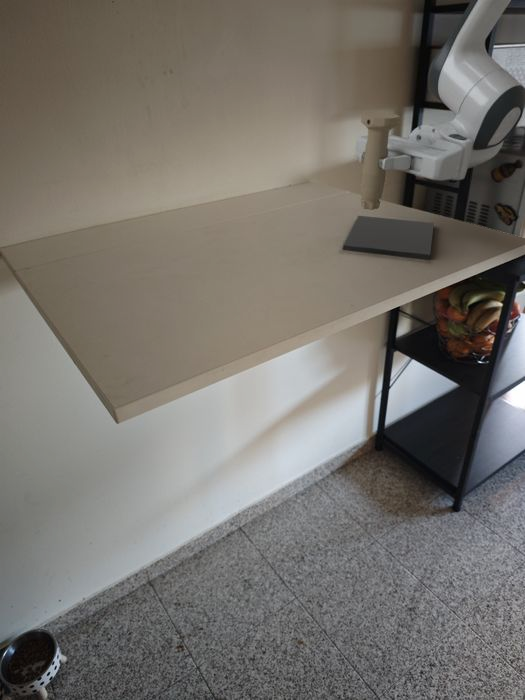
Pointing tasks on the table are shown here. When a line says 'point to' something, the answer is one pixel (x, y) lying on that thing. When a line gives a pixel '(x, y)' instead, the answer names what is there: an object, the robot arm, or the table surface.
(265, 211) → the table surface
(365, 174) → the handle
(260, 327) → the table surface
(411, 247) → the dark grey square plate
